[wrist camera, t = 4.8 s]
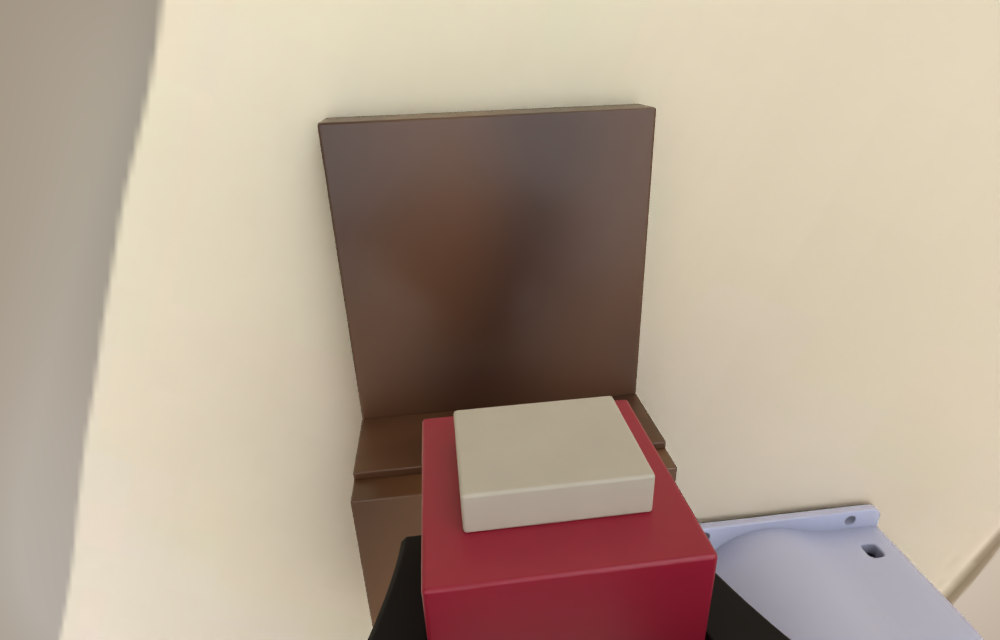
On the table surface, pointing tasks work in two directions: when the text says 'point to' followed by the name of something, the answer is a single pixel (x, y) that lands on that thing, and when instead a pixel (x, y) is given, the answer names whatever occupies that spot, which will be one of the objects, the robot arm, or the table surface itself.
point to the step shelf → (482, 280)
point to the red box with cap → (557, 528)
